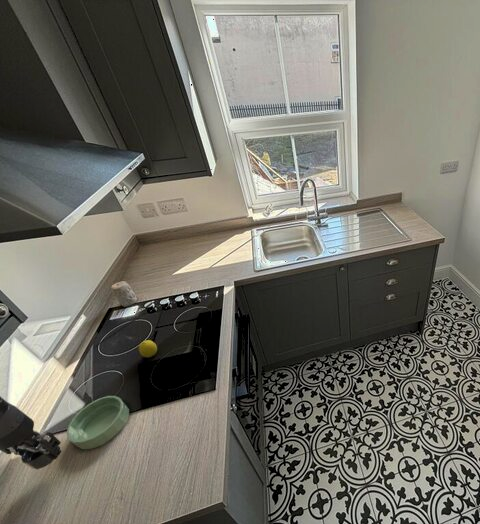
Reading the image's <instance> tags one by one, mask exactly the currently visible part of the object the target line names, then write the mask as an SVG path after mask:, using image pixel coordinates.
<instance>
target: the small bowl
mask: <svg viewBox="0 0 480 524" xmlns="http://www.w3.org/2000/svg"><path fill="white" fill-rule="evenodd" d="M39 442H40V441H39ZM39 442H38V443H37V444H36V446H35V447H34V448H36V447H37V446H38V445H39ZM42 448H43V449H45V448H44V447H42ZM57 448H58V449H60V450H61V446H60V444H59V445H58V447H57ZM20 460H21V461H22V463H23V464H25V465H26V466H28V467H29V468H31V469H33V470H40V469H43V468H46V467H47V466H49V465H50V464H51V463H52V462H54V461H55V460H56V459H53V460H52V459H51V458H49V457H48V456H47V455H45V454H44V453H41V452H39V451H38V452H35V453H34V452H31V451H29V450H26V451H25V452H24V453H23V455H22V456H21V459H20Z"/></svg>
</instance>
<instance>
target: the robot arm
mask: <svg viewBox="0 0 480 524" xmlns="http://www.w3.org/2000/svg"><path fill="white" fill-rule="evenodd" d="M34 428H35V421H34V419H32V418H31V417H30V416H28V415H27V413H25V412H23V411H22V410H21V409H20V408H18V407H17V405H14V404H12V403H11V402H9V401H7V400H6V399H5V398H4V397H2V396H1V395H0V451H1V452H2V453H4V454H6V455H12V453H13V454H14V455H15V456H20V457H22V455H23V453H24V452H25V451H26V450H29V451H31V452H34V453H35V452H38V451H39V452H41V453H44V454H45V455H47V456H48V457H49V458H51V459H52V460H53V459H55V460H57V459H58V458H59V456H60V455H61V453H62V450H61V448H60V449H58V448H57V447H58V445H59V446H60V445H61V443H62V442H61V441H60V440H59V439H58V438H57V436H55V435H54V434H53V432H50V431H48V432H46V433H45V434H41V433H40V432H39V431H37V430H34ZM39 441H40V442H39ZM38 442H39V445H38V446H37V447H36V448H34V447H35V446H36V444H37V443H38ZM42 447H44V448H45V449H43V448H42Z"/></svg>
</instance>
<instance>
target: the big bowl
mask: <svg viewBox="0 0 480 524" xmlns="http://www.w3.org/2000/svg"><path fill="white" fill-rule="evenodd" d="M129 417H130V408H129V407H128V405H127V404H126V403H125V402H124V400H123V399H122V398H120V397H118V396H116V395H106V396H104V397H99V398H97V399H96V400H93V401H91V402H90V403H88V404H87V405H85V406H84V407H83V408H81V409H80V410H79V411H78V412H77V414H75V415H74V416H73V418H72V420H71V421H70V423H69V424H68V426H67V430H66V437H67V439H68V441H69V442H71V443H72V444H73V445H74V446H76V447H77V448H79V449H81V450H92V449H96V448H98V447H100V446H103V445H104V444H106V443H108V442H109V441H111V440H112V439H113V438H115V436H117V435H118V434H119V433H120V432H121V431H122V429H123V428H124V427H125V426H126V424H127V422H128V420H129Z"/></svg>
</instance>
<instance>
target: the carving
mask: <svg viewBox="0 0 480 524" xmlns="http://www.w3.org/2000/svg"><path fill="white" fill-rule="evenodd" d="M110 289H111V291H112V293H113V294H114V296H115V298H116V300H117V302H118V303H119V304H120V305H121V306H122V307H124V308H126V307H130V306H132V305H134V304H135V303H136V302H137V296H136V294H135V293H134V291H133V289H132V287H131V286H130V284H129V283H128V282H127V281H125V280H123V281H122V280H121V281H118V282H116V283H114V284H112V285H111V287H110Z"/></svg>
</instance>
